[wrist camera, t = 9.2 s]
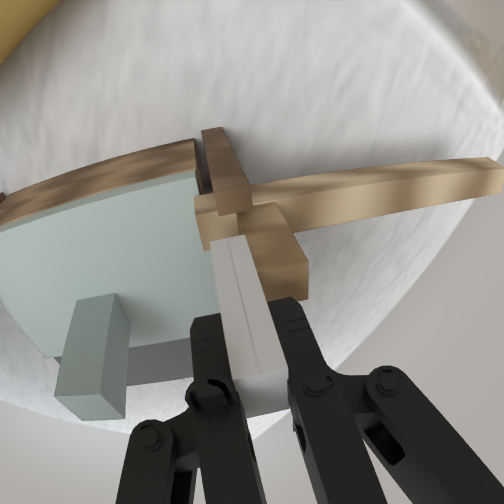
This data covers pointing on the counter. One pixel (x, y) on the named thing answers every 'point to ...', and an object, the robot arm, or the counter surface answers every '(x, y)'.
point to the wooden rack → (140, 177)
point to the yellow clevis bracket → (19, 21)
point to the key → (336, 210)
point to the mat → (158, 362)
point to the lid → (107, 284)
